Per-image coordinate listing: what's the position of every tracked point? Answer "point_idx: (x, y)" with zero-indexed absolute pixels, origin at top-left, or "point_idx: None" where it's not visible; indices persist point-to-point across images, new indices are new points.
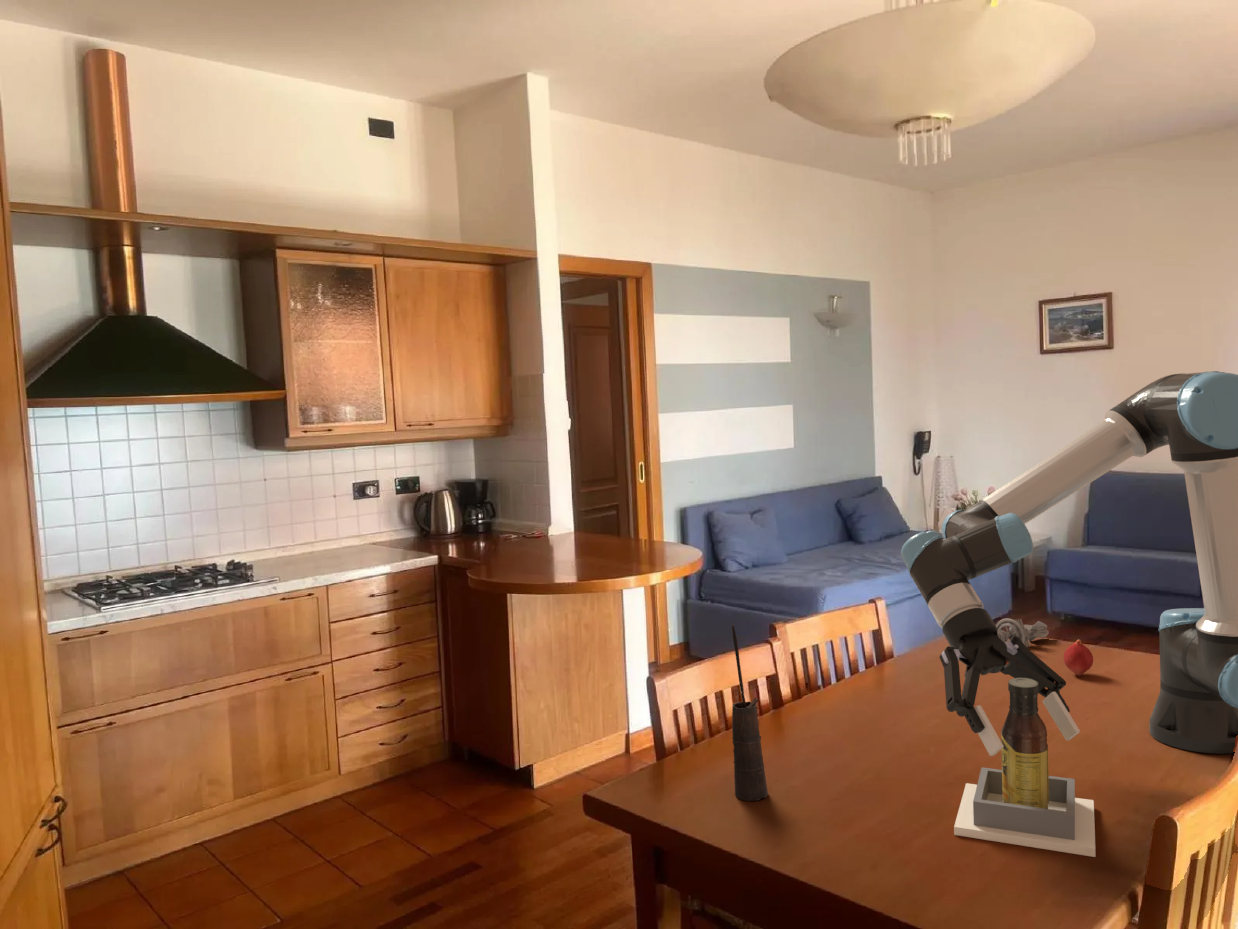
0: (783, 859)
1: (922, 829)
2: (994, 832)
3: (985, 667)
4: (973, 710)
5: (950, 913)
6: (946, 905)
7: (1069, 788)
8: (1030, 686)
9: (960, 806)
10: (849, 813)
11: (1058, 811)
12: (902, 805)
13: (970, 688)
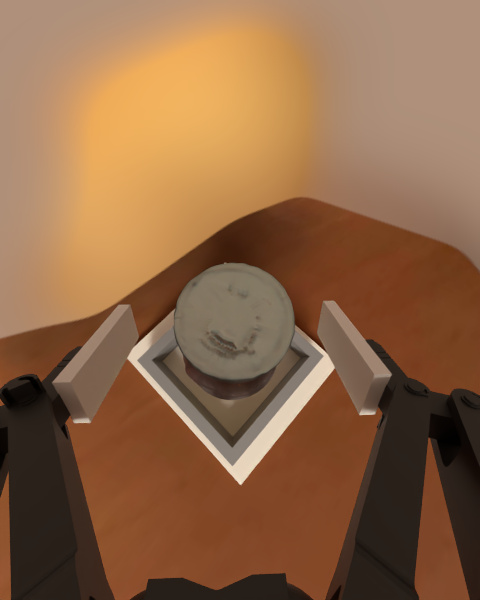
0: None
1: None
2: (300, 331)
3: (296, 595)
4: (390, 377)
5: (414, 240)
6: (411, 251)
7: (171, 336)
8: (244, 266)
9: (297, 412)
10: (440, 481)
11: None
12: (355, 473)
13: (417, 443)
